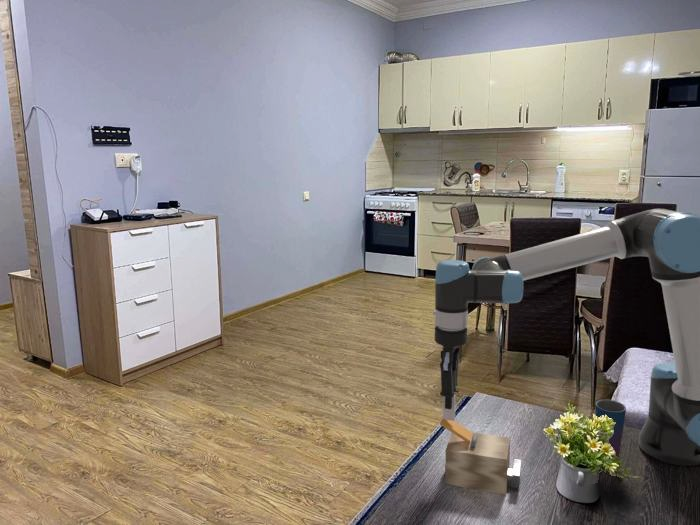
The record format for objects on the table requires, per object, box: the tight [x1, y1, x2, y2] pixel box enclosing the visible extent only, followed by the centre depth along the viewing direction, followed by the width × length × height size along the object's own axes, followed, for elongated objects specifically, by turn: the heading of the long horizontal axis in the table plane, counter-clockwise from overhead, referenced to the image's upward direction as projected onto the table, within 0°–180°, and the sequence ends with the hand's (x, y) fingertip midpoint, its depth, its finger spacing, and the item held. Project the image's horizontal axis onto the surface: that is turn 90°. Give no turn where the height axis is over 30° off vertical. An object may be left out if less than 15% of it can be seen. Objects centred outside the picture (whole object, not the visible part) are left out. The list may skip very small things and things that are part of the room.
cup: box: [595, 399, 627, 459], centre depth 132 cm, size 7×7×15 cm
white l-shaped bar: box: [444, 458, 522, 489], centre depth 128 cm, size 18×7×4 cm, turn 69°
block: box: [445, 431, 511, 496], centre depth 128 cm, size 14×10×9 cm
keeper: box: [439, 416, 478, 447], centre depth 128 cm, size 10×5×1 cm, turn 70°
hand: (448, 418), depth 129 cm, fingers closed
